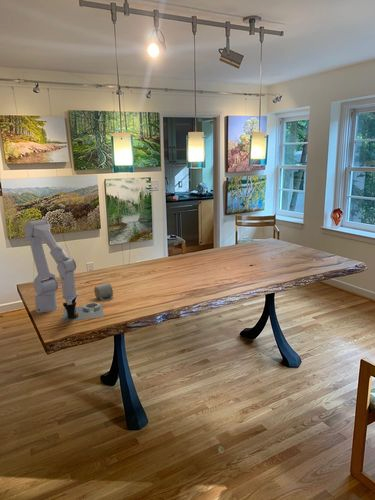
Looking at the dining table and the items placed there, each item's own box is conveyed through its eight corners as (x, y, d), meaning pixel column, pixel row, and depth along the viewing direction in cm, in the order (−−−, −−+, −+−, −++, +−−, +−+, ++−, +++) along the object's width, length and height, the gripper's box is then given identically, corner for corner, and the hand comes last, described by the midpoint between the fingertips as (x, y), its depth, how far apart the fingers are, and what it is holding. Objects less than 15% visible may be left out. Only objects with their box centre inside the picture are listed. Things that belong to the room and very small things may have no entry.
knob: (67, 319, 171) (65, 307, 169) (67, 316, 174) (66, 304, 173) (78, 318, 172) (77, 306, 170) (78, 314, 176) (77, 303, 174)
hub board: (62, 323, 168) (62, 318, 168) (64, 310, 183) (63, 305, 183) (103, 318, 173) (103, 313, 172) (102, 305, 188) (101, 301, 187)
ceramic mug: (94, 297, 200) (93, 283, 198) (109, 294, 203) (108, 280, 201) (100, 304, 191) (99, 289, 189) (115, 300, 195) (114, 286, 193)
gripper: (77, 289, 164) (80, 318, 167) (78, 280, 177) (80, 307, 180) (60, 291, 162) (63, 321, 165) (62, 281, 175) (65, 308, 179)
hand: (71, 313), depth 173 cm, fingers open, 7 cm apart
